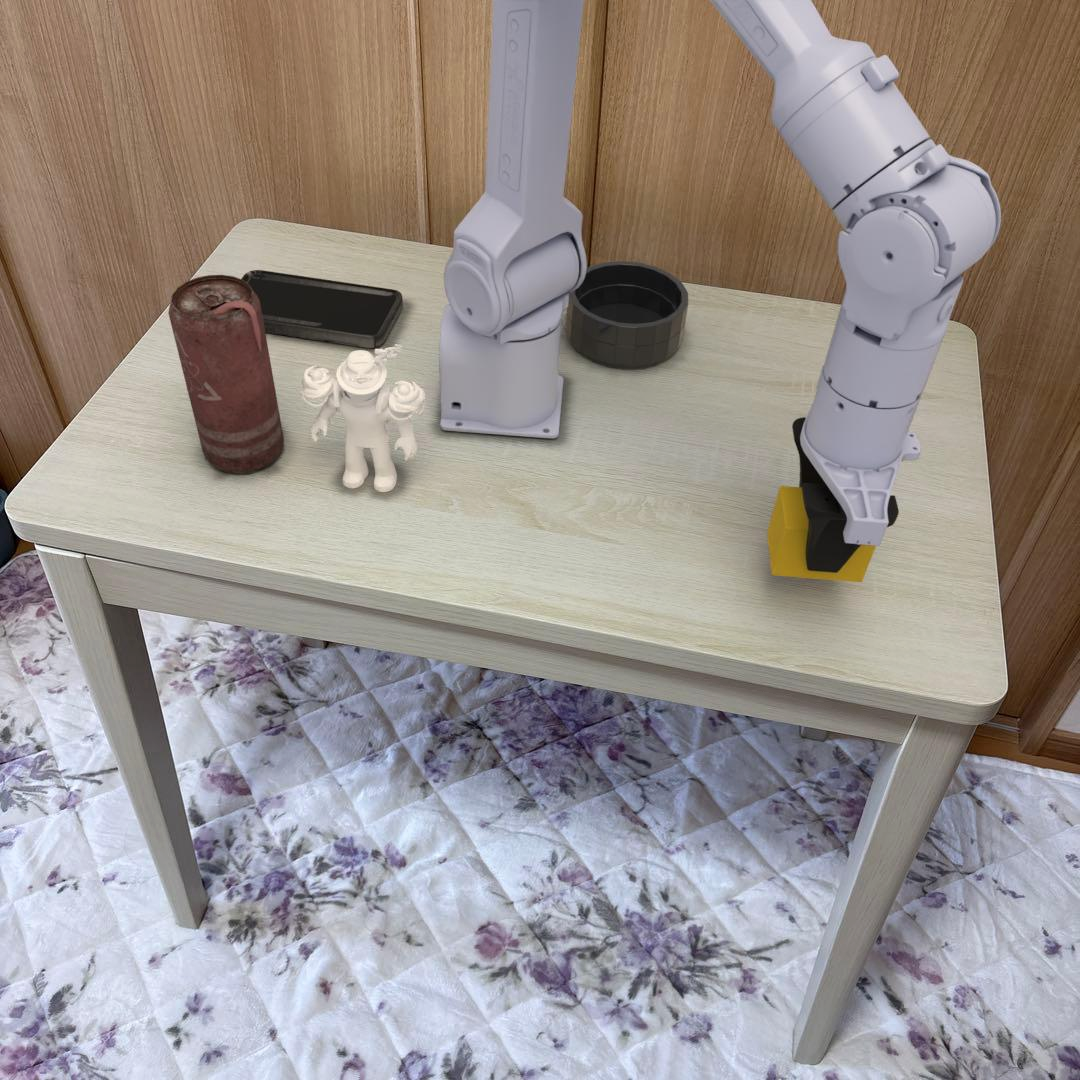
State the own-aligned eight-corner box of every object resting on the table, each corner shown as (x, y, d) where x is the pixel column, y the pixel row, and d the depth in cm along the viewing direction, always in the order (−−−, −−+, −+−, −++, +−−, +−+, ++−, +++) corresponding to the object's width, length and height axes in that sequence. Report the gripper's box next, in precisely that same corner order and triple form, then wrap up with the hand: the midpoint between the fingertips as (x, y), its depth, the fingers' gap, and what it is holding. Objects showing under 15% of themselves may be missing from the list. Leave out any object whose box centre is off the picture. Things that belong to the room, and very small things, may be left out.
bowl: (562, 366, 91) (565, 322, 88) (568, 300, 98) (571, 257, 95) (682, 375, 91) (690, 331, 88) (680, 308, 98) (686, 265, 95)
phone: (249, 268, 98) (405, 290, 96) (251, 278, 99) (406, 301, 97) (214, 314, 92) (379, 339, 91) (216, 325, 93) (380, 350, 91)
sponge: (771, 575, 70) (785, 527, 67) (766, 533, 73) (779, 485, 70) (862, 583, 70) (880, 535, 67) (853, 540, 73) (871, 492, 69)
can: (270, 483, 79) (240, 326, 69) (191, 469, 80) (149, 312, 70) (299, 433, 84) (274, 278, 74) (223, 420, 84) (189, 265, 74)
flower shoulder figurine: (434, 471, 81) (428, 340, 73) (420, 505, 78) (412, 373, 70) (322, 452, 82) (303, 321, 74) (304, 485, 79) (282, 353, 71)
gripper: (970, 467, 55) (896, 632, 65) (919, 312, 65) (863, 475, 75) (835, 457, 55) (782, 622, 65) (806, 304, 66) (763, 467, 75)
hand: (818, 543), depth 70 cm, fingers closed on sponge, 4 cm apart
